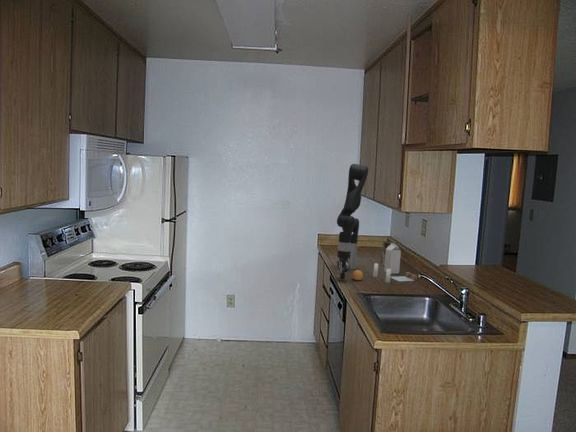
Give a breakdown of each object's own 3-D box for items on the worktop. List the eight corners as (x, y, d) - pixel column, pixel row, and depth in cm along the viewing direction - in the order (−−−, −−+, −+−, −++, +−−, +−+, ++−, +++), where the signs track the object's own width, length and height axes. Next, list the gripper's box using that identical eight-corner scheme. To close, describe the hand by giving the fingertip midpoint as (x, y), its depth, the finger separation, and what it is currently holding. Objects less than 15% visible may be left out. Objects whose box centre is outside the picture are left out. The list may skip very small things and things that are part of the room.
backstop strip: (405, 276, 301) (405, 272, 301) (407, 276, 302) (408, 272, 302) (414, 280, 292) (414, 275, 292) (416, 280, 293) (417, 275, 292)
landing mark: (389, 277, 298) (389, 276, 298) (404, 276, 302) (404, 276, 302) (398, 281, 288) (398, 281, 288) (414, 280, 291) (414, 280, 291)
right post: (384, 282, 284) (385, 268, 283) (388, 282, 285) (389, 268, 284) (386, 283, 282) (388, 269, 281) (390, 283, 282) (391, 269, 282)
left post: (372, 276, 298) (373, 263, 297) (376, 276, 299) (377, 263, 298) (374, 277, 296) (375, 264, 295) (378, 277, 297) (379, 264, 296)
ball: (350, 279, 287) (351, 269, 286) (359, 278, 289) (360, 269, 288) (355, 281, 281) (355, 271, 281) (364, 281, 283) (365, 271, 283)
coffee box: (395, 266, 331) (397, 243, 329) (388, 267, 328) (390, 244, 326) (387, 264, 339) (389, 241, 337) (380, 264, 336) (381, 241, 334)
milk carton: (389, 273, 307) (391, 244, 305) (384, 271, 314) (386, 242, 312) (399, 273, 309) (401, 244, 307) (393, 271, 316) (396, 242, 314)
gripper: (333, 247, 285) (331, 276, 287) (343, 251, 273) (341, 281, 275) (345, 247, 288) (343, 276, 289) (355, 251, 275) (353, 281, 277)
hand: (342, 278), depth 282 cm, fingers closed
